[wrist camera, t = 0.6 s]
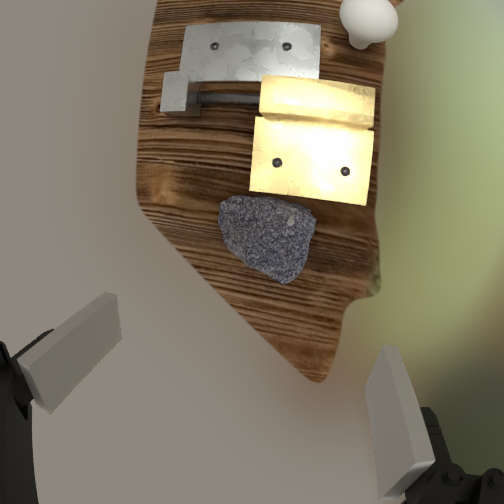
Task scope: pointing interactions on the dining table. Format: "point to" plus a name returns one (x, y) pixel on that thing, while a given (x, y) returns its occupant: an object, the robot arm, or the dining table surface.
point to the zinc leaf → (237, 61)
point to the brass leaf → (313, 139)
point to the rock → (267, 234)
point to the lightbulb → (368, 21)
